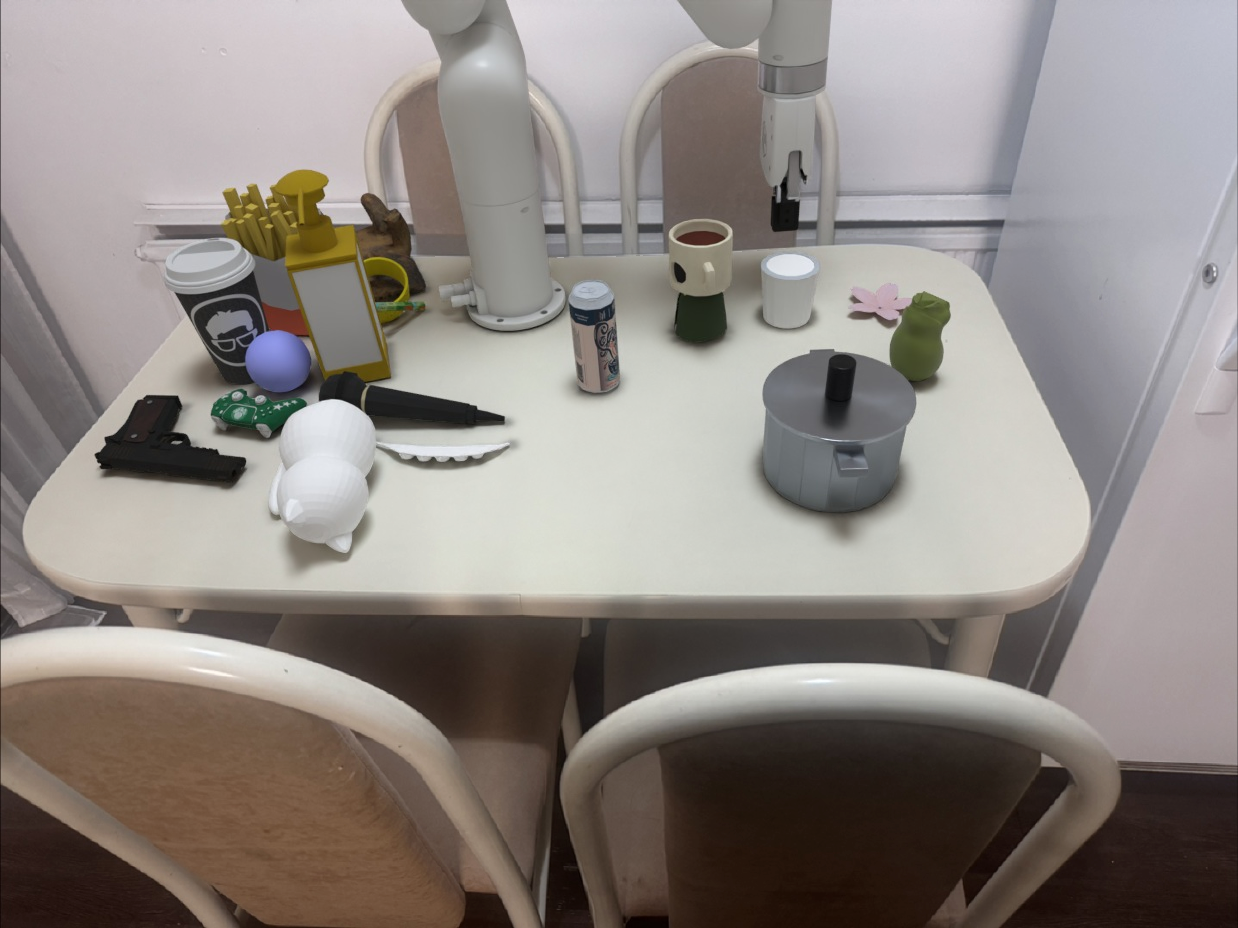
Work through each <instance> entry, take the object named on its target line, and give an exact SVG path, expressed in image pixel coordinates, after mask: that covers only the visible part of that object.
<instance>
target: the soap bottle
mask: <svg viewBox="0 0 1238 928" xmlns="http://www.w3.org/2000/svg"><path fill="white" fill-rule="evenodd" d="M329 182H330V179H329V177H328V176H327V175H326V174H324V173H322V172H320V171H317V170H313V169H296V170H293V171H290V172H288V173H286V174H285V175H284V176H282V177H281V178H280V179H278V181H277V182H276V186H275V187H274V188H275V191H276V193H277V194H280V195H282V196H283V197H284V196H285V197H286V200H287V202H288V204H289V205H291V206H296V207H298V213H299V221H298V222H297V224H296V227H297V230H298V233H299V234H295V235H289V236H287V239H286V258H285V267H286V268H287V273H288V276H289V279H290V282H291V285H292V287H293V290H294V293H295V296H296V299H297V302H298V305H299V308H300V311H301V313H302V316H303V319H304V322H305V325H306V328H307V331H308V334H309V335H308V336H309V337H308V338H309V340H310V343H311V345H312V349H313V351H314V354H315V357H316V360H317V362H318V365H319V369H320V371H321V374H322V377H323V380H324V381H325V380H326V379H327V378H328V377H329V376H331V375H335V374H342V373H343V372H344V371H347V372H353V373H357V375H358V377H359V378H361V379H362V380H364V382H365V383H366V382H372V381H377V380H381V379H387V378H391V377H392V374H391V366H390V359H389V357H390V356H389V351H388V349H389V348H388V343H387V340H386V336H385V332H384V329H383V325H382V323H381V321H380V318H379V314H378V310H377V307H376V303H375V300H374V296H373V292H372V289H371V285H370V282H369V278H368V274H367V271H366V267H365V264H364V260H363V257H362V253H361V249H360V246H359V242H358V239H357V235H356V231H357V230H356V229H355V224H350V225H344V226H337V227H334V224H333V220H332V218H331V216H329V215H327V214H324V215H321V214H319V211H318V209H319V208H318V205H317V203H319V202H321V201H323V200H324V199H325V197H326V192H325V190H324V188H325V187H327V186H328V184H329ZM286 200H285V201H286Z"/></svg>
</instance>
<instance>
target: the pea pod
mask: <svg viewBox="0 0 1238 928" xmlns="http://www.w3.org/2000/svg"><path fill="white" fill-rule="evenodd" d="M377 445H378V446H381V447H384V448H387V449H389V450H391V451H393V452H396V453H398V456H400V458H401V460H411V459H413V458H414V457H416V458H417V459H418V461H419V462H428V461H431V459H432V458H435V460H436V461H437V462H439V463H443V462H444V463H445V462H447V461H450V458H453V459H454V460H455V462H464V461H466V460H467V459H468V458H469V457H472V458H473V459H481V458H483V456H484V454H488V453H491V452H494V451H499V450H501V449H504V448H505V447H507V446H510V445H511V443H510V442H509V441H508V442H504V443H500V444H465V445H463V444H462V445H423V444H409V443H385V442H381V441H377V440H376V446H377Z"/></svg>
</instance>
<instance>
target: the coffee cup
mask: <svg viewBox="0 0 1238 928" xmlns="http://www.w3.org/2000/svg"><path fill="white" fill-rule="evenodd" d="M164 265H165V269H164V272H163V280H164V286H165V288H166V289H168V290H169V291H171V292H173V293H174V294H175V296H176V298H177V299H178V301H179V303H180V305H181V306H182V308H183V310H184V312H185V313H186V316H187V317H188V319H189V320H190V322H191V324H192V326H193V327H194V329H195V331H196V333H197V335H198V336H199V338H200V341H201V342H202V343H203V345H204V347H205V349H206V351H207V352H208V355H209V357H210V358H211V360H212V362H213V363H214V365H215V367H216V368H217V371H218V372H219V374H220V376H221V377H222V379H223V380H224V381H225V382H226V383H228V384H232V385H249V384H252V383H255V382H254V381H253V380H252V378H251V377H250V375H249V373H248V371H247V368H246V364H245V356H246V352H247V349H248V347H249V345H250V344H251V342H252V341H253V340H254V339H255V338H256V337H258V336H259V335H261V334H263V333H265V332H268V331H270V328H269V327H268V323H267V320H266V316H265V312H264V309H263V305H262V301H261V298H260V294H259V290H258V287H257V283H256V279H255V275H254V271H253V269H254V267H255V260H254V258H253V257H252V255H251V254H250V253H249V252H248V251H247V250H246V249H245V248H243V247H242V246H241V245H240V243H239V242H237V241H235V240H233V239H228V238H226V237H212V238H205V239H201V240H197V241H193V242H190V243H188V244H185V245H182V246H180V247H179V248H177V249H175V250H174V251H172V252H171V253H170V254H169V255H168V256H167V258H166V259H165V262H164Z"/></svg>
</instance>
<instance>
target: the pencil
mask: <svg viewBox="0 0 1238 928" xmlns="http://www.w3.org/2000/svg"><path fill="white" fill-rule="evenodd" d="M375 303H376V307H377V310H378V311H404V312H408V311H409V312H411V311H412V312H413V311H415V312H416V311H420V312H421V311H425V310H426V307H427V305H426V303H425V302H424V301H409V302H394V301H388V302H375Z"/></svg>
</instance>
